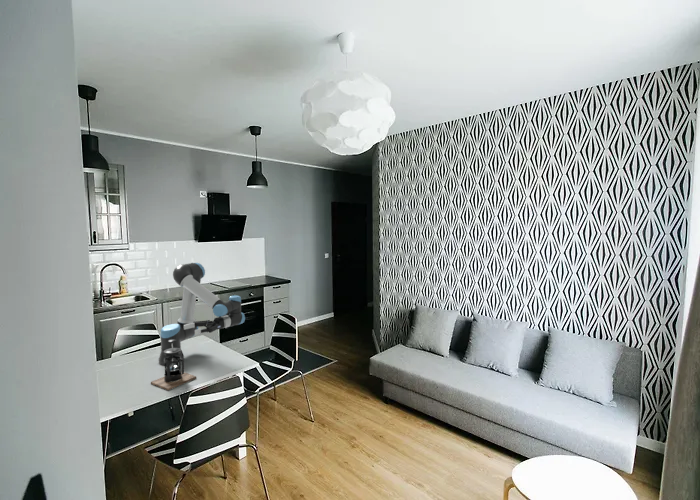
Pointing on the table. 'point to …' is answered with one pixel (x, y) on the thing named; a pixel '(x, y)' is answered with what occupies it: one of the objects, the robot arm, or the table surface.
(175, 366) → the french press
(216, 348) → the table surface
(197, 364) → the table surface
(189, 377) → the board
